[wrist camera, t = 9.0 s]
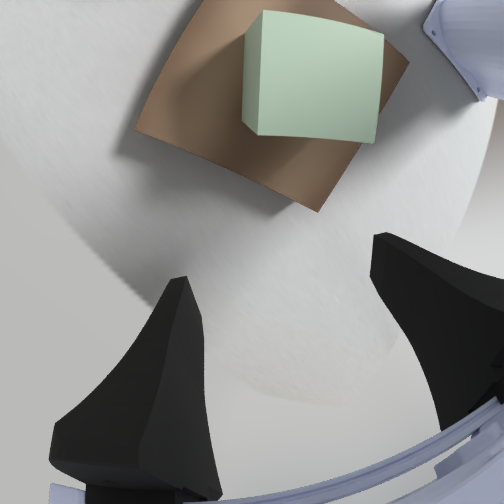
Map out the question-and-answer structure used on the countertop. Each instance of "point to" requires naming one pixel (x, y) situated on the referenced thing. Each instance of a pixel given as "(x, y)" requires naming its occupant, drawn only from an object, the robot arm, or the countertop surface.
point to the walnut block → (230, 102)
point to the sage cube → (311, 78)
